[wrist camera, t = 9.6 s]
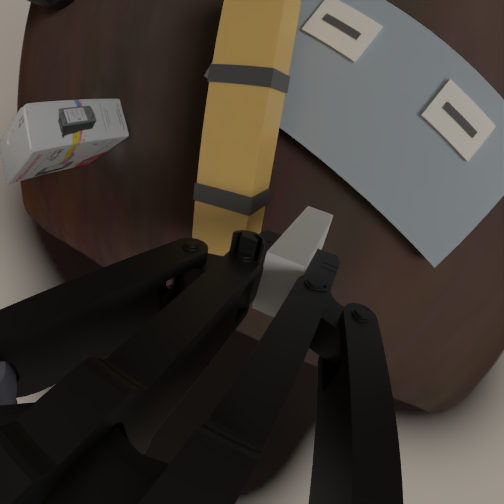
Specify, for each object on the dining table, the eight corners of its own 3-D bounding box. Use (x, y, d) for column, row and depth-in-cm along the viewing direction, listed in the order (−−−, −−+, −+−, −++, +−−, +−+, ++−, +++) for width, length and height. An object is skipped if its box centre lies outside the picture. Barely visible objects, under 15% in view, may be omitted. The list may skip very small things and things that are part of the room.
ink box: (89, 165, 32) (6, 189, 22) (79, 128, 30) (-3, 146, 21) (132, 136, 28) (32, 155, 18) (121, 94, 26) (22, 101, 16)
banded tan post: (254, -17, 15) (225, -41, 12) (309, -16, 14) (289, -45, 10) (214, 243, 26) (183, 266, 22) (260, 259, 24) (234, 286, 20)
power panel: (213, 78, 22) (201, 75, 20) (297, -37, 15) (289, -47, 13) (431, 259, 20) (435, 269, 19) (531, 145, 13) (542, 147, 12)
